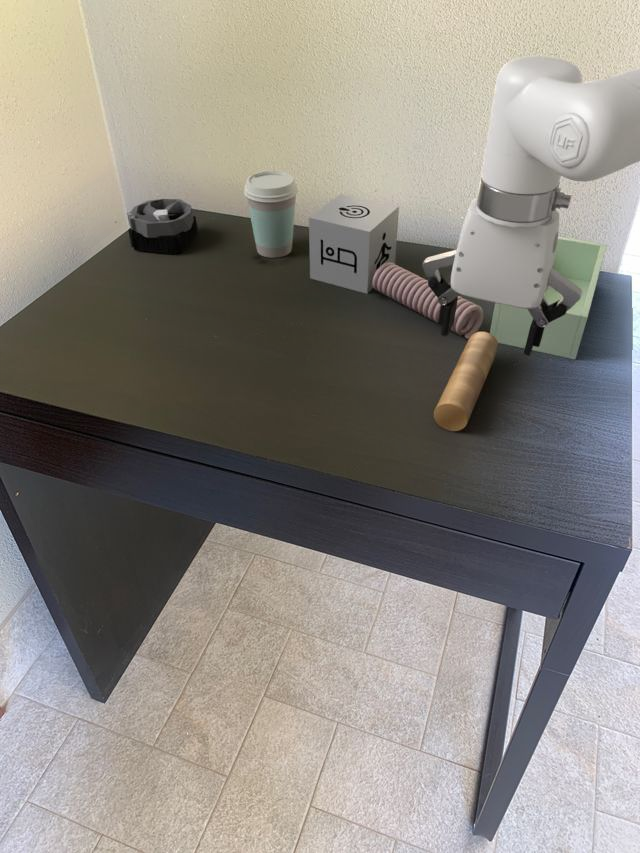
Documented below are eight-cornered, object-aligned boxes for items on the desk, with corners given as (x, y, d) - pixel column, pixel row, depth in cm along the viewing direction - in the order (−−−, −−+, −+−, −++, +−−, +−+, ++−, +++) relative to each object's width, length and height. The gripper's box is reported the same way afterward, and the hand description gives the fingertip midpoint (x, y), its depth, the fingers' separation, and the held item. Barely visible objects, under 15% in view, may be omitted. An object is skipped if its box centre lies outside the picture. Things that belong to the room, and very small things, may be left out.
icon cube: (310, 278, 107) (308, 217, 101) (340, 252, 114) (340, 193, 107) (367, 293, 103) (369, 231, 97) (395, 265, 110) (399, 206, 103)
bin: (595, 284, 105) (606, 244, 101) (575, 359, 90) (587, 317, 86) (519, 270, 109) (527, 231, 104) (488, 340, 94) (496, 298, 89)
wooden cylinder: (482, 362, 91) (461, 342, 91) (505, 347, 88) (483, 326, 88) (450, 436, 80) (426, 413, 80) (474, 421, 78) (450, 397, 77)
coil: (369, 268, 100) (464, 317, 90) (391, 255, 102) (487, 301, 92) (370, 294, 104) (462, 345, 93) (392, 281, 106) (484, 329, 95)
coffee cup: (307, 243, 116) (306, 173, 108) (286, 265, 110) (283, 193, 102) (262, 235, 119) (257, 165, 111) (239, 256, 113) (233, 185, 105)
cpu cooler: (200, 199, 116) (177, 225, 109) (204, 231, 120) (183, 257, 113) (143, 194, 118) (118, 219, 111) (149, 226, 122) (125, 252, 114)
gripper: (609, 197, 68) (568, 339, 80) (442, 170, 73) (425, 307, 85) (601, 229, 63) (557, 375, 75) (421, 197, 68) (406, 339, 80)
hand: (487, 339), depth 80 cm, fingers open, 9 cm apart
